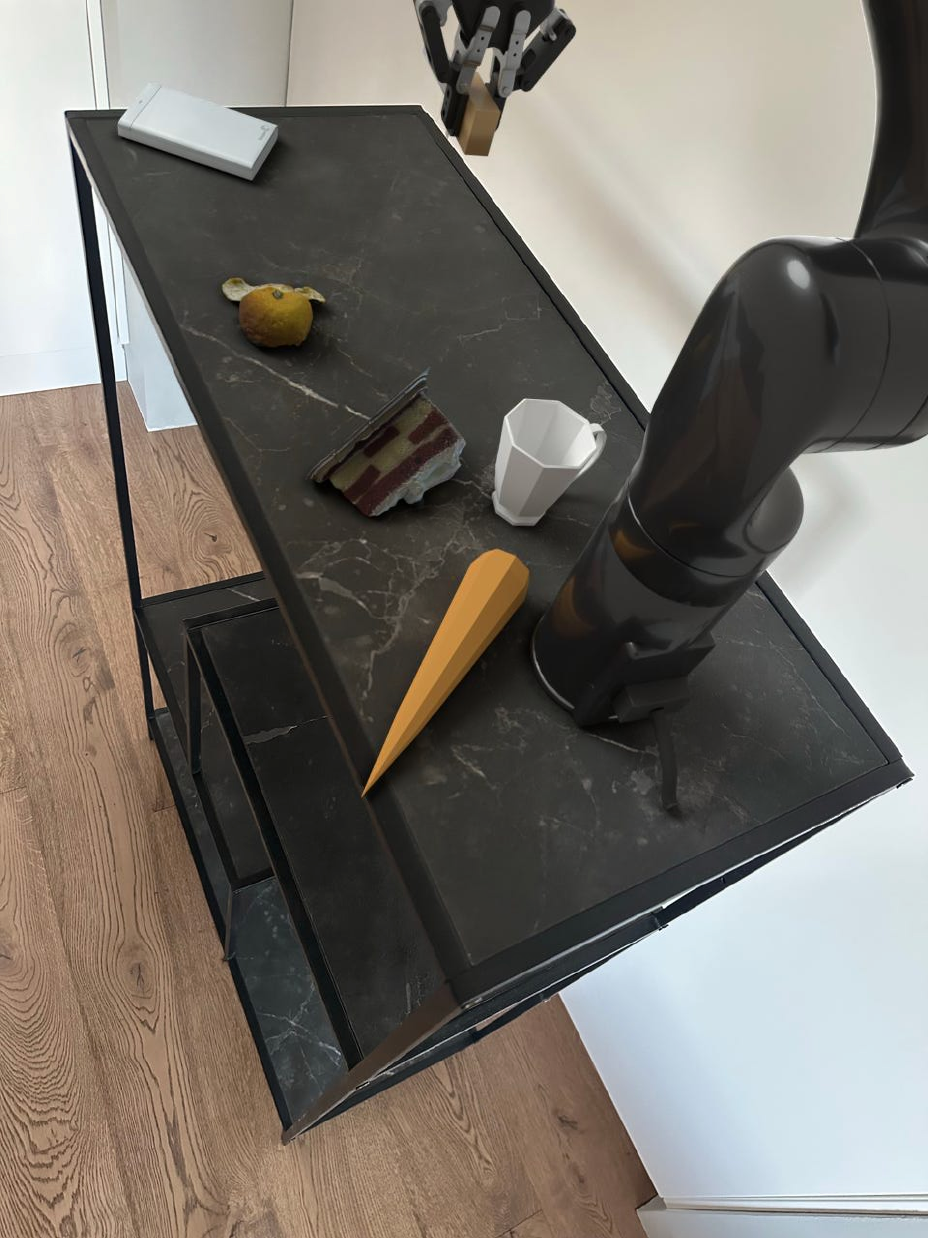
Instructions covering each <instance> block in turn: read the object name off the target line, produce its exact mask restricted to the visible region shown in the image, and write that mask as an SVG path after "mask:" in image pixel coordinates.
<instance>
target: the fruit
mask: <svg viewBox="0 0 928 1238" xmlns="http://www.w3.org/2000/svg"><path fill="white" fill-rule="evenodd" d="M221 289H222V292H223V294H224V295H225V297H226V298H227V299H228V300H229V301H235V302H236V301H237V302H239V307H238V311H239V313H238V323H239V325H240V330H241V331H242V332H243V334H244V336H245V337H246V339H247V340H248V341H249V342H251V343H252V344H253V345H254V346H256V347H264V348H265V347H269V348H277V347H278V346H285V345H287V346H291V345H295V346H297V347H299V346H300V345H301V344H302V342H303V341H305V340H307V337H308V334H309V333H310V329H311V326H312V322H313V319H314V316H313V309H312V303H311V302H310V301H309V300H318V301H319V302H320V303H318V304H315V305H314V307H316V306H321V305H323V304H325V303H326V299H325V297H324V296H323V295H322V294H321V293H320V292H318V291H317V290H315V289H313V288H312V287H309V286H303V287H297V288H293V287H292V286H290V285H287V284H284V283H271V282H270V283H266V284H259V285H257V286H256V285H255V286H252V285H249V283H246V282H245V281H244V279H243V278H241V277H230V278H229V279H228V280H226V281H225V282H224V283H223V284H222V285H221Z"/></svg>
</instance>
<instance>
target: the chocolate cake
mask: <svg viewBox="0 0 928 1238" xmlns="http://www.w3.org/2000/svg"><path fill="white" fill-rule="evenodd" d="M431 368H432V365H429V366H428V367H427V368H426V369H424V370H423V371H422V372H421V373H420V374H419V375H418V376H417V377H416V378H415V379H414V380H413V381H412V382H411V383H409V384H408V385H407V386H406V387H405V388H403V389H402V390H401V391H398V393H397V394H395V395H394V396H393V397H392V398H391V399H389V401H388V402H386V403H385V404H384V405H383V406H382V407H381V408H380V410H378V411H377V412H376V413H374V415H372V416H371V417H370V418H369V419H368V420H367V421H366V422H365V423H363V424H362V425H361V426H360V427H359V428H357V429H356V430H355V431H354V432H353V433H351V434H350V435H349V436H348V437H347V439H345V440H344V441H343V442H342V443H341V444H340V445H339V446H338V447H335V448H334V449H332V450H331V451H329V453H328V454H327V455H326V456H325V457H324V458H322V459H321V460H319V462H318V463H317V464H316V465H315V466H313V468H312V469H311V470H310V471H309V472H308V474H307V476H306V478H305V480H306V481H308V480H313V481H315V482H316V483H324V482H325V481H327V480H328V479H329V481H330V483H332V485H333V487H334V488H335V489H339V490H340V491H341V492H342V494H343V496H344V497H345V498H346V499H347V500H349V501H350V503H352V504H353V505H354V506H356V507H357V508H358V510H359V511H360V512H361V513H362V514H363V515H365V516H366V517H372V516H373V517H374V516H376V517H377V516H380V515H381V514H383V513H384V512H387V511H389V510H390V508H392V507H395V506H396V505H397V503H398V501H399V500H401V499H404V501H405V503H407V504H409V505H413V506H414V507H417V508H419V507H422V506H423V505H424V504H425V500H424V498H423V496H424V493H425V492H426V491H429V490H430V489H432V488H433V487H435V486H437V485H439V484H442V483H444V482H447V481H448V480H451V478H453V477H454V475H455V474H456V472H457V471H458V470H459V468H460V467H461V466H462V464H461V462H460V458H459V457H460V455H461V454H462V452H463V449H464V448H465V446H466V443H467V442H466V440H465V438H464V437H463V436H462V435H461V433H460V432H459V431H458V430H457V428H456V427H455V425H454V424H453V423H452V422H451V421H450V420H449V418H448V417H446V415H445V414H444V413H443V412H442V411H441V410H440V409H439V407H438V406H437V405H436V404H435V403H434V402H433V401H432V400H431V398H429V396H427V393H428V391H429V389H430V388H429V386H428V382H427V378H428V373H429V371H430V369H431Z"/></svg>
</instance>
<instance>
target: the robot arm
mask: <svg viewBox="0 0 928 1238" xmlns="http://www.w3.org/2000/svg"><path fill="white" fill-rule="evenodd" d="M859 1H860V5H861V11H862V16H863V20H864V26H865V29H866V34H867V38H868V39H867V40H868V45H869V50H870V56H871V63H872V66H873V67H872V69H873V76H874V77H873V81H874V93H875V111H874V129H873V137H872V144H871V146H872V147H871V153H870V158H869V165H868V170H867V174H866V181H865V186H864V189H863V194H862V198H861V199H862V200H861V204H860V206H859V207H860V208H859V212H858V216H857V220H856V224H855V227H854V231H853V233H852V237H843V236H842V237H839V236H836V237H835V236H821V235H820V236H817V235H779V236H773V237H770V238H767V239H764V240H762V241H760V242H757V243H756V244H754V245H752V246H751V247H749V248H748V249H747V250H745V252H743V253H742V254H741V255H740V256H739V257H737V258H736V259H735V260H734V261H733V262H732V264H731V265H730V266H729V267H728V268H727V269H726V271H725V272H724V273H723V274H722V276H721V277H720V279H719V280H718V281H717V283H716V284H715V286H714V287H713V289H712V290H711V292H710V294H709V296H708V297H707V298H706V300H705V302H704V304H703V306H702V307H701V309H700V312H699V313H698V315H697V317H696V319H695V321H694V323H693V325H692V327H691V329H690V331H689V333H688V335H687V337H686V339H685V341H684V344H683V346H682V348H681V349H680V352H679V353H678V356H677V357H676V360H675V361H674V363H673V366H672V368H671V369H670V371H669V374H668V376H667V378H666V379H665V382H664V383H663V385H662V387H661V389H660V391H659V393H658V395H657V397H656V399H655V401H654V403H653V406H652V408H651V411H650V413H649V416H648V420H647V422H646V427H645V431H644V435H643V439H642V440H643V441H642V445H641V450H640V454H639V456H638V459H637V460H636V462H635V464H634V466H633V467H632V469H631V470H630V472H629V473H628V474H627V477H626V479H625V480H624V482H623V484H622V485H621V487H620V489H619V491H618V492H617V494H616V495H615V497H614V499H613V500H612V502H611V504H610V505H609V507H608V508H607V510H606V511H605V513H604V515H603V516H602V518H601V520H600V521H599V523H598V525H597V526H596V528H595V530H594V532H593V533H592V535H591V537H590V538H589V540H588V541H587V543H586V545H585V546H584V549H583V550H582V551H581V553H580V555H579V557H578V558H577V560H576V562H575V563H574V565H573V567H571V570H570V572H569V573H568V575H567V576H566V578H565V580H564V582H563V583H562V585H561V586H560V589H559V591H557V594H556V595H555V597H554V599H553V600H552V602H551V604H550V606H549V607H548V609H547V611H546V612H545V613H544V614H543V615H542V617H541V618H540V620H539V621H538V623H537V624H536V626H535V627H534V629H533V632H532V635H531V638H530V642H529V659H530V663H531V667H532V670H533V674H534V676H535V677H536V679H537V681H538V683H539V684H540V686H541V687H542V689H543V690H544V691H545V692H546V694H547V695H548V696H549V697H550V698H551V699H552V700H553V701H554V702H555V703H557V704H558V705H559V706H560V707H562V708H563V709H565V710H566V711H568V712H570V714H571V715H572V717H573V720H574V722H575V724H576V726H578V727H586V726H592V725H596V724H603V723H607V722H608V723H609V722H619V723H620V724H624V723H628V722H634V721H638V720H643V719H647V718H648V719H650V720H651V725H652V728H653V733H654V736H655V740H656V743H657V748H658V752H659V757H660V765H661V804H662V807H663V809H664V810H665V811H666V812H669V811H672V810H674V809H675V808H677V807H679V805H680V803H679V802H678V797H677V787H678V765H677V764H678V763H677V757H676V751H675V747H674V742H673V738H672V733H671V730H670V726H669V722H668V718H667V715H670V714H675V713H679V712H680V711H681V710H682V708H684V707H685V706H686V705H687V704H688V703H689V702H690V701H691V700H692V699H693V697H694V693H693V691H692V689H691V687H690V685H689V682H688V680H687V677H688V676H689V675H690V674H691V673H692V672H693V671H694V670H695V669H696V668H697V667H698V666H699V665H700V664H701V663H702V662H703V660H704V659H706V658H707V656H708V655H709V654H710V653H711V652H712V651H713V650H714V649H715V648H716V646H717V640H716V637H715V635H714V632H712V631H713V629H714V628H715V627H716V626H717V624H718V623H719V622H720V621H722V619H723V618H724V617H725V615H727V613H728V612H729V611H730V610H731V609H732V608H733V607H734V605H735V604H736V603H737V602H739V600H740V599H741V598H742V597H743V596H744V595H745V594H746V593H747V591H749V589H750V588H751V587H752V586H753V585H754V584H755V582H757V580H758V579H759V578H760V577H761V576H762V575H763V573H764V572H766V570H768V568H769V567H770V566H771V565H772V564H773V563H774V561H776V559H777V558H778V557H779V556H780V555H781V554H782V553H783V552H784V551H785V549H786V548H787V547H788V546H789V545H790V544H791V543H792V541H793V540H794V538H795V537H796V535H797V534H798V531H799V530H800V528H801V525H802V523H803V519H804V511H805V501H804V495H803V491H802V488H801V485H800V483H799V480H798V478H797V476H796V474H795V472H794V471H793V469H792V467H791V465H792V464H794V462H795V461H796V460H797V459H798V458H799V457H800V456H801V455H812V454H828V453H829V454H830V453H845V452H846V453H848V452H863V451H864V452H865V451H866V452H867V451H876V450H877V451H878V450H886V449H887V450H888V449H894V448H898V447H904V446H906V445H911V444H913V443H915V442H917V441H919V440H921V439H923V438H925V437H926V436H928V0H859ZM412 2H413V7H414V11H415V14H416V18H417V22H418V26H419V30H420V34H421V38H422V41H423V46H424V45H425V49H426V53H427V57H428V61H429V64H430V66H431V68H432V70H433V72H434V74H435V76H436V78H437V80H438V81H439V82H440V83H446V84H447V86H446V90H445V95H444V94H443V99H442V104H441V108H440V119H441V122H442V124H443V126H444V128H445V129H446V132H447V133H448V135H449V137H454V138H456V137H458V136H459V134H460V130H461V126H462V122H463V118H464V114H465V110H466V106H467V102H468V98H469V96H470V95H469V93H468V90H469V89H470V86H471V83H472V80H473V78H474V75H475V72H477V69H478V67H481V66H482V63H483V61H484V57H485V54H486V52H487V49H492V58H491V63H490V69H489V82H484V83H485V86H486V87H487V89H488V91H489V93H490V95H491V96H492V98H493V100H494V102H495V103H496V105H497V107H498V109H499V111H500V116H499V119H498V123H497V126H496V130H495V133H496V132H497V130H498V129H499V128H500V124H501V120H502V116H503V113H504V110H505V106H506V102H507V98H508V97H510V96H511V95H512V93H514V92H516V91H520V90H521V91H522V92H523V93H528V92H531V91H532V90H533V89H534V87H535V86H536V85H537V84H538V82H539V81H540V80H541V79H542V77H543V76H544V75H545V74H546V73H547V71H548V70H549V69H550V67H551V66H552V65H553V64H554V63H555V61H556V60H557V59H558V58H559V56H560V55H561V53H563V51H564V50H565V49H566V48H567V46H568V45H569V44H570V43H571V42H572V40H573V39H574V38H575V36H576V34H577V27H576V26H575V25H574V22H573V20H572V19H571V17H570V16H569V15H568V14H567V12H566V11H565V10H564V9H563V8H558V7H557V5H556V0H412ZM450 7H452V8H453V11H454V14H455V17H456V19H457V22H458V25H457V29H456V33H455V35H454V41H453V43H454V47H453V51H452V55H451V56H450V59H451V60H449V59H448V56H447V53H448V51H447V47H446V44H445V40H444V36H443V31H442V28H443V27H445V25H446V24H447V21H448V12H449V11H448V10H449V9H450ZM538 28H539V31H538V32H537V33H536V34H535V36H534V37H533V38H532V40H531V41H530V42H529V43H528V44H527V46H526V47H524V46H525V41H526V40H527V39H528V38H529V37H530V36H531V35H532V34H533V33H534V32H535V31H536V30H537V29H538ZM524 48H525V49H524ZM431 68H430V69H431ZM432 70H431V71H432ZM433 72H432V73H433ZM434 74H433V75H434ZM435 76H434V77H435ZM436 78H435V79H436ZM437 80H436V81H437Z"/></svg>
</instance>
